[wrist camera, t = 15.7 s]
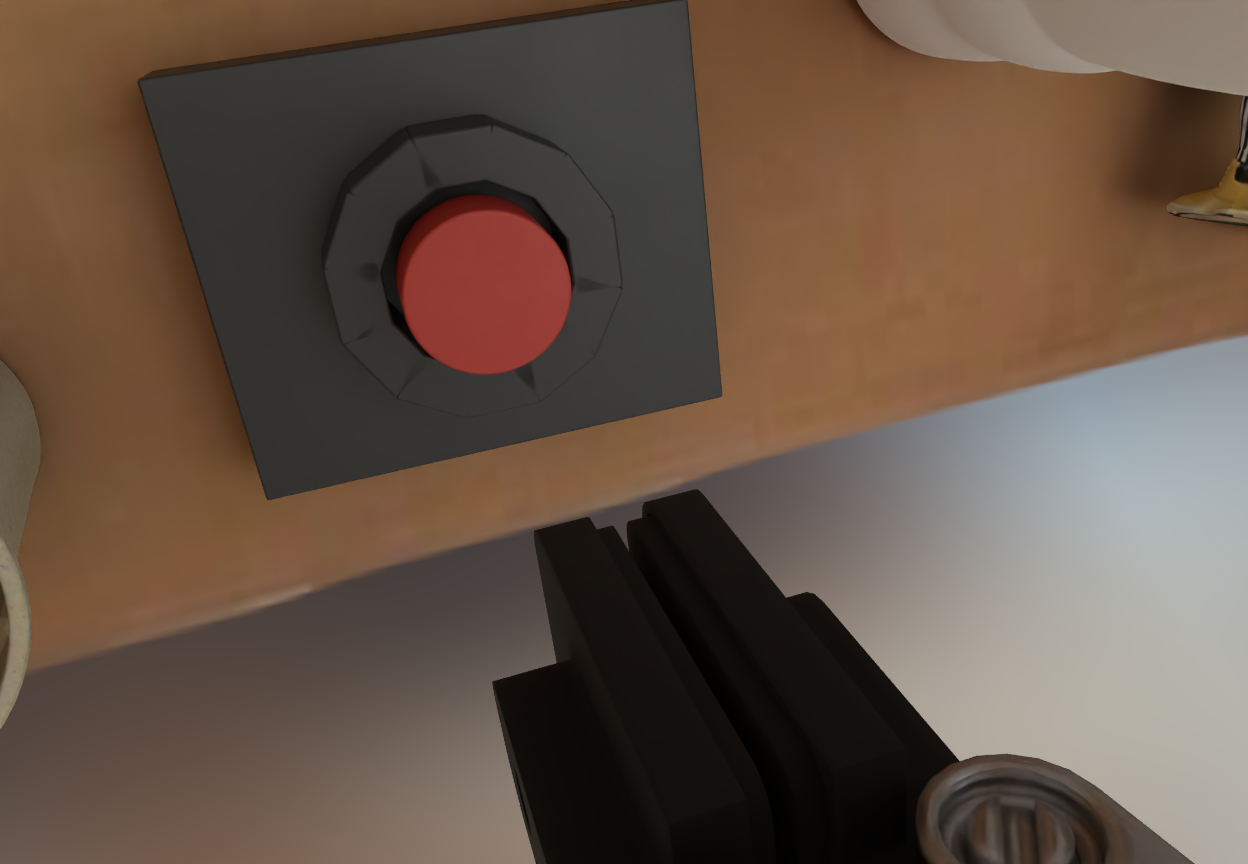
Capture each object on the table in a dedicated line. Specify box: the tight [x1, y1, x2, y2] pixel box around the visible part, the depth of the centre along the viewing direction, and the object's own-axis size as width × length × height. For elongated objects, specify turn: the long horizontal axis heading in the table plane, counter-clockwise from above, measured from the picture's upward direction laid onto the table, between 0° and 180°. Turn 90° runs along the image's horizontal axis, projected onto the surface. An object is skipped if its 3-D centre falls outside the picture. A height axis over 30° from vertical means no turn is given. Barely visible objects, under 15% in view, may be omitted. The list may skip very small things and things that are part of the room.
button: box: [396, 194, 571, 375], centre depth 23 cm, size 4×4×2 cm
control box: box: [138, 0, 722, 500], centre depth 25 cm, size 12×10×4 cm
